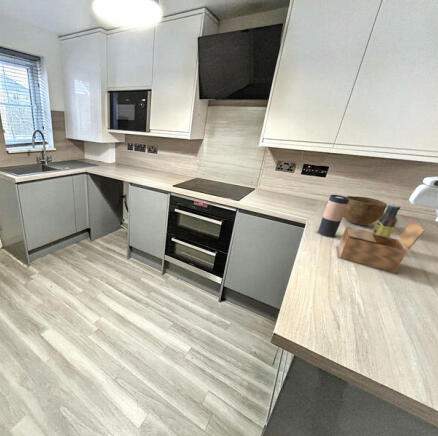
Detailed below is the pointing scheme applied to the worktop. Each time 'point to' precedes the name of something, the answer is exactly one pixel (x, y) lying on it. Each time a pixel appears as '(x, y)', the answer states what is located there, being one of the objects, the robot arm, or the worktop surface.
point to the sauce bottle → (387, 221)
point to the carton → (371, 249)
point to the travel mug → (333, 215)
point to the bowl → (364, 210)
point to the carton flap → (411, 234)
